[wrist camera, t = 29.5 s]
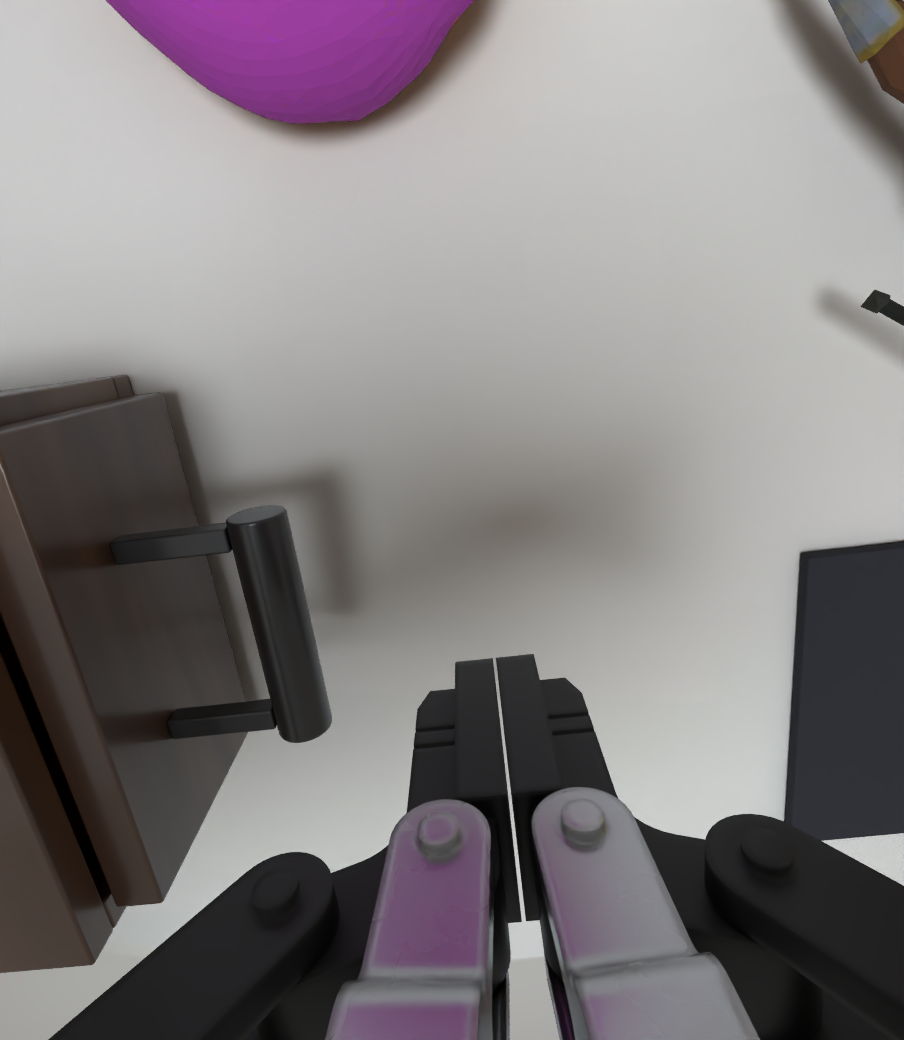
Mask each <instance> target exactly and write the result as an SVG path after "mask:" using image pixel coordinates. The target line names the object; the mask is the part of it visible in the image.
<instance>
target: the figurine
mask: <svg viewBox="0 0 904 1040" xmlns="http://www.w3.org/2000/svg"><path fill="white" fill-rule="evenodd" d="M828 1H829V3H830V5H831V7H832V9H833V11H834V13H835V15H836V17H837V19H838V21H839V23H840V25H841V27H842V29H843V31H844V33H845V35H846V37H847V39H848V41H849V43H850V45H851V47H852V49H853V51H854V53H855V55H856V56H857V58H858V60H859V61H860V63H863V62H864V61H866V60H868V62H869V64H870V66H871V68H872V70H873V72H874V74H875V76H876V78H877V80H878V82H879V84H880V86H881V88H882V90H884V91H885V92H887V93H888V94H890V95H891V96H893V97H894V98H896V99H897V100H899V101H900V102H902V103H903V104H904V1H903V0H828ZM861 307H863V308H865V309H867V310H870V311H872V312H874V313H878V312H880V313H882V314H884V315H885V316H887V317H889V318H891V319H892V320H894V321H896V322H898V323H900V324H901V325H903V326H904V306H902V305H900V304H898V303H896V302H894V301H893V300H891V299H890V295H888V294H885V293H882V292H880V291H877V290H874V291H873V292H872V293H871V295H870V296H869V297H868V298H867V299H866V301H865V302H864V303H863V304H862V305H861Z"/></svg>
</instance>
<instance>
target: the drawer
mask: <svg viewBox="0 0 904 1040" xmlns="http://www.w3.org/2000/svg"><path fill="white" fill-rule="evenodd" d="M232 550H233V553H234V557H235V561H236V565H237V569H238V573H239V577H240V581H241V585H242V589H243V593H244V597H245V600H246V604H247V608H248V612H249V616H250V620H251V624H252V628H253V632H254V636H255V640H256V644H257V648H258V652H259V656H260V659H261V663H262V667H263V671H264V675H265V679H266V683H267V687H268V691H269V695H270V699H264V700H255V701H245V697H244V694H243V690H242V686H241V683H240V679H239V675H238V672H237V668H236V664H235V660H234V657H233V653H232V649H231V646H230V642H229V638H228V634H227V631H226V627H225V623H224V620H223V616H222V612H221V609H220V605H219V601H218V597H217V594H216V590H215V586H214V583H213V579H212V575H211V571H210V568H209V564H208V560H207V557H206V555H211V554H220V553H229V552H231V551H232ZM0 652H1V654H2V657H3V659H4V662H5V664H6V667H7V669H8V672H9V674H10V676H11V679H12V681H13V684H14V686H15V689H16V691H17V694H18V696H19V699H20V701H21V704H22V706H23V709H24V711H25V713H26V716H27V718H28V721H29V723H30V726H31V728H32V731H33V733H34V736H35V738H36V741H37V743H38V745H39V748H40V750H41V753H42V755H43V758H44V760H45V763H46V765H47V768H48V770H49V773H50V775H51V778H52V780H53V782H54V785H55V787H56V790H57V792H58V795H59V797H60V800H61V802H62V805H63V807H64V810H65V812H66V815H67V817H68V819H69V822H70V824H71V827H72V829H73V832H74V834H75V837H76V839H77V842H78V844H79V845H80V844H81V842H82V841H83V839H84V838H85V837H86V835H87V834H88V836H89V838H90V841H91V843H92V846H93V848H94V851H95V854H96V856H97V859H98V861H99V864H100V866H101V869H102V871H103V874H104V876H105V879H106V881H107V884H108V886H109V889H110V891H111V894H112V896H113V899H114V901H115V904H116V906H118V907H123V906H134V905H145V904H156V903H161V902H163V901H164V899H165V897H166V895H167V893H168V891H169V889H170V887H171V885H172V883H173V881H174V879H175V877H176V875H177V873H178V871H179V869H180V867H181V865H182V863H183V861H184V859H185V857H186V855H187V853H188V851H189V849H190V847H191V845H192V843H193V841H194V839H195V837H196V835H197V833H198V831H199V829H200V827H201V825H202V823H203V821H204V819H205V817H206V815H207V813H208V811H209V809H210V807H211V805H212V803H213V801H214V799H215V797H216V795H217V793H218V791H219V789H220V787H221V785H222V783H223V781H224V779H225V777H226V775H227V773H228V771H229V769H230V767H231V765H232V763H233V761H234V759H235V757H236V755H237V753H238V751H239V749H240V747H241V745H242V743H243V741H244V739H245V737H246V735H247V733H248V732H250V731H259V730H269V729H274V728H276V726H278V730H279V734H280V736H281V737H282V738H283V739H284V740H285V741H288V742H292V743H301V742H306V741H310V740H312V739H315V738H317V737H319V736H320V735H322V734H323V733H324V732H326V731H327V729H328V728H329V727H330V725H331V722H332V715H331V710H330V706H329V701H328V697H327V692H326V687H325V683H324V678H323V674H322V669H321V665H320V660H319V656H318V651H317V646H316V642H315V637H314V633H313V628H312V624H311V619H310V615H309V610H308V605H307V601H306V596H305V592H304V587H303V583H302V578H301V574H300V569H299V565H298V560H297V555H296V551H295V546H294V542H293V537H292V533H291V528H290V524H289V519H288V514H287V510H286V509H285V507H282V506H276V505H269V506H260V507H255V508H250V509H246V510H243V511H240V512H238V513H235V514H233V515H232V516H230V517H229V518H227V520H226V523H219V524H211V525H203V526H198V523H197V520H196V516H195V512H194V508H193V505H192V501H191V497H190V494H189V490H188V486H187V482H186V479H185V475H184V471H183V468H182V464H181V460H180V457H179V453H178V449H177V445H176V442H175V438H174V434H173V431H172V427H171V423H170V419H169V416H168V412H167V408H166V405H165V401H164V397H163V394H162V393H153V394H145V395H137V396H129V397H123V398H119V399H114V400H110V401H106V402H102V403H97V404H93V405H89V406H84V407H80V408H76V409H72V410H67V411H63V412H59V413H55V414H50V415H46V416H42V417H37V418H33V419H29V420H25V421H20V422H16V423H12V424H7V425H3V426H0Z"/></svg>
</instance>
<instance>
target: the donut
mask: <svg viewBox="0 0 904 1040" xmlns="http://www.w3.org/2000/svg"><path fill="white" fill-rule="evenodd" d="M106 1H107V2H108V3H109V4H110V5H111V6H112V7H113V8H114V9H115V10H116V11H117V12H118V13H119V14H120V15H121V16H122V17H123V18H124V19H125V20H126V21H127V22H128V23H129V24H130V25H131V26H132V27H133V28H134V29H135V30H137V31H138V32H139V33H140V34H141V35H142V36H143V37H144V38H146V39H147V40H148V41H149V42H150V43H151V44H153V45H154V46H155V47H156V48H157V49H159V50H160V51H161V52H162V53H163V54H164V55H166V56H167V57H168V58H169V59H170V60H172V61H173V62H174V63H175V64H176V65H178V66H179V67H180V68H181V69H182V70H184V71H185V72H186V73H187V74H188V75H190V76H191V77H192V78H194V79H195V80H196V81H198V82H199V83H200V84H202V85H203V86H204V87H206V88H207V89H209V90H210V91H212V92H214V93H216V94H217V95H219V96H221V97H223V98H225V99H227V100H229V101H231V102H233V103H234V104H236V105H238V106H240V107H242V108H244V109H246V110H248V111H251V112H253V113H255V114H258V115H260V116H262V117H265V118H268V119H273V120H278V121H283V122H288V123H318V122H330V121H358V120H360V119H361V118H363V117H365V116H366V115H368V114H370V113H371V112H373V111H375V110H377V109H378V108H380V107H382V106H383V105H385V104H387V103H388V102H390V101H391V100H392V99H393V98H394V97H395V96H396V95H397V94H398V93H399V92H400V91H401V90H402V89H404V88H405V87H406V86H407V85H408V84H409V83H411V82H412V81H413V80H414V79H415V78H416V77H417V76H418V75H419V74H420V73H421V72H422V70H423V69H424V68H425V67H426V66H427V65H428V64H429V62H430V61H431V59H432V57H433V56H434V54H435V53H436V51H437V49H438V48H439V46H440V45H441V43H442V41H443V40H444V38H445V36H446V35H447V33H448V32H449V30H450V28H451V27H452V26H453V25H454V24H455V23H456V22H457V21H458V19H459V17H460V16H461V14H462V13H463V12H464V11H465V10H466V9H467V8H468V6H469V5H470V4H471V3H472V2H473V1H474V0H106Z"/></svg>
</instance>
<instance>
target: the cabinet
mask: <svg viewBox="0 0 904 1040" xmlns="http://www.w3.org/2000/svg"><path fill="white" fill-rule="evenodd" d="M129 396H133V393H132V390H131V386H130V383H129V379H128V377H127V376H126V375H119V376H111V377H104V378H96V379H88V380H80V381H73V382H65V383H57V384H50V385H42V386H34V387H27V388H19V389H11V390H4V391H0V426H3V425H7V424H12V423H16V422H20V421H25V420H29V419H33V418H37V417H42V416H46V415H50V414H55V413H59V412H63V411H67V410H72V409H76V408H80V407H84V406H89V405H93V404H97V403H102V402H106V401H110V400H114V399H119V398H123V397H129ZM125 908H126V906H123V907H118V906H116V904H115V901H114V899H113V896H112V894H111V891H110V889H109V886H108V884H107V881H106V879H105V876H104V874H103V871H102V869H101V866H100V864H99V861H98V859H97V856H96V854H95V851H94V848H93V846H92V843H91V841H90V838H89V836H88V834H87V835H86V837H85V838H84V839H83V841H82V842H81V844H80V845H79V844H78V842H77V839H76V837H75V834H74V832H73V829H72V827H71V824H70V822H69V819H68V817H67V815H66V812H65V810H64V807H63V805H62V802H61V800H60V797H59V795H58V792H57V790H56V787H55V785H54V782H53V780H52V778H51V775H50V773H49V770H48V768H47V765H46V763H45V760H44V758H43V755H42V753H41V750H40V748H39V745H38V743H37V741H36V738H35V736H34V733H33V731H32V728H31V726H30V723H29V721H28V718H27V716H26V713H25V711H24V709H23V706H22V704H21V701H20V699H19V696H18V694H17V691H16V689H15V686H14V684H13V681H12V679H11V676H10V674H9V672H8V669H7V667H6V664H5V662H4V659H3V657H2V654H1V652H0V973H6V972H17V971H29V970H40V969H52V968H62V967H74V966H86V965H92V964H94V963H95V961H96V959H97V958H98V956H99V954H100V953H101V951H102V949H103V947H104V945H105V944H106V942H107V940H108V938H109V936H110V935H111V933H112V930H113V928H114V927H115V926H116V924H117V922H118V921H119V919H120V917H121V915H122V913H123V912H124V910H125Z"/></svg>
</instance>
